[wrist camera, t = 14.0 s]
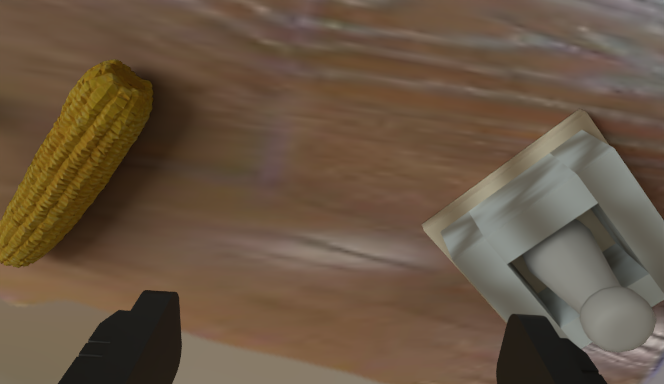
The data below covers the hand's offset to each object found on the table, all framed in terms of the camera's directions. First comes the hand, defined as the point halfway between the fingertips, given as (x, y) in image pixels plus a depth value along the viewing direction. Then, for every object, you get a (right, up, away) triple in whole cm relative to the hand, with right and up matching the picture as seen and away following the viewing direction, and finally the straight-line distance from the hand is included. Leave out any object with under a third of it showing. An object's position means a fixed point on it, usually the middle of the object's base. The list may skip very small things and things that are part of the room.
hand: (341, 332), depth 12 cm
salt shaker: (+19, 0, +32) cm, 37 cm away
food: (-21, +6, +31) cm, 38 cm away
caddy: (+19, 0, +33) cm, 38 cm away
